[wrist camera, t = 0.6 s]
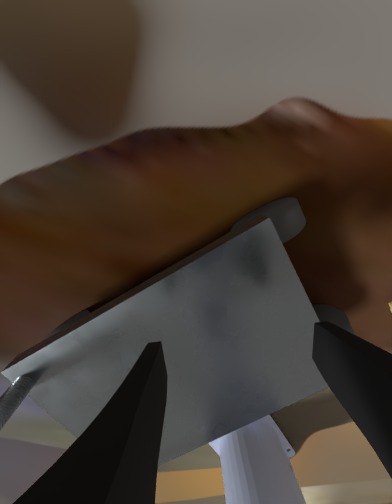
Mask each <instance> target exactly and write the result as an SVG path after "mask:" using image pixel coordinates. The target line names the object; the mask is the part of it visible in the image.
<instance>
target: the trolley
mask: <svg viewBox="0 0 392 504" xmlns="http://www.w3.org/2000/svg"><path fill="white" fill-rule="evenodd" d="M305 225H306V219H305V217H304V214H303V212H302V210H301V207H300V205H299V203H298V200H297V199H296V198H294V197H287V198H282V199H278V200H275V201H272V202H270V203H267V204H265V205H263V206H261V207H259V208H257V209H255V210H253V211H251V212H250V213H248V214H246V215H245V216H244V217H242V218H241V219H240V220H238V221H237V222H236V223H235V224H234V225H233V227H232V228H231V232H229V233H227V234H226V235H224V236H222V237H220V238H219V239H217V240H215V241H214V242H212V243H210V244H208V245H207V246H205V247H203V248H201V249H200V250H198V251H196V252H195V253H193V254H191V255H189V256H188V257H186V258H184V259H183V260H181V261H179V262H177V263H176V264H174V265H172V266H171V267H169V268H167V269H165V270H164V271H162V272H160V273H158V274H157V275H155V276H153V277H152V278H150V279H148V280H146V281H145V282H143V283H141V284H140V285H138V286H136V287H134V288H133V289H131V290H129V291H128V292H126V293H124V294H122V295H121V296H119V297H117V298H115V299H114V300H112V301H110V302H109V303H107V304H105V305H103V306H102V307H100V308H98V309H97V310H95V311H93V312H91V313H90V312H89V311H88V310H84V311H81V312H79V313H77V314H76V315H74V316H72V317H71V318H69V319H68V320H66V321H65V322H64V323H62V324H61V325H60V326H58V327H57V328H56V329H55V330H53V331H52V332H51V333H50V334H49V335H48V336H46V337H45V338H44V339H43V340H42V341H41V342H40V343H38V344H36V345H35V346H33V347H31V348H30V349H28V350H26V351H24V352H23V353H21V354H19V355H18V356H17V357H16V358H15V359H14V360H13V361H12V362H11V363H10V364H9V365H8V366H7V367H6V368H5V369H4V370H3V371H2V372H1V373H2V374H3V375H4V376H5V377H7V378H8V379H9V380H10V381H11V382H12V384H11V386H10V387H9V388H8V389H7V390H6V391H5V392H4V394H3V395H2V396H1V397H0V430H1V429H2V428H3V426H4V425H5V424H6V422H7V421H8V420H9V418H10V417H11V416H12V414H13V413H14V412H15V410H16V409H17V408H18V406H19V405H20V404H21V402H22V401H23V400H24V398H25V397H26V396H29V397H30V398H31V399H32V400H33V401H34V402H36V403H37V404H38V405H39V406H40V407H41V408H43V409H44V410H45V411H46V412H47V413H48V414H50V415H51V416H52V417H53V418H54V419H55V420H57V421H58V422H59V423H60V424H61V425H62V426H63V427H65V428H66V429H67V430H68V431H69V432H70V433H72V434H73V435H74V436H75V437H76V438H78V437H79V436H80V435H81V434H82V433H83V432H84V431H85V430H86V428H87V427H88V426H89V425H90V424H91V422H92V421H93V420H94V419H95V418H96V416H97V415H98V414H99V413H100V412H101V410H102V409H103V408H104V406H105V405H106V404H107V403H108V401H109V400H110V398H111V397H112V396H113V394H114V393H115V392H116V390H117V389H118V388H119V386H120V385H121V383H122V382H123V381H124V379H125V378H126V376H127V375H128V373H129V372H130V370H131V369H132V367H133V366H134V364H135V362H136V361H137V359H138V358H139V356H140V354H141V353H142V351H143V350H144V348H145V346H146V345H147V344H148V343H150V342H158V341H161V343H162V348H163V353H164V359H165V364H166V370H167V375H168V379H167V402H166V409H165V417H164V424H163V431H162V438H161V445H160V452H159V460H158V466H160V465H162V464H164V463H166V462H168V461H170V460H172V459H175V458H177V457H179V456H181V455H183V454H185V453H188V452H190V451H192V450H194V449H196V448H198V447H201V446H203V445H205V444H207V443H209V442H211V441H213V440H216V439H218V438H220V437H222V436H224V435H226V434H229V433H231V432H233V431H235V430H237V429H239V428H242V427H244V426H246V425H248V424H250V423H252V422H254V421H257V420H259V419H261V418H263V417H265V416H267V415H270V414H272V413H274V412H276V411H278V410H280V409H283V408H285V407H287V406H289V405H291V404H293V403H295V402H298V401H300V400H302V399H304V398H306V397H308V396H311V395H313V394H315V393H317V392H319V391H321V390H324V389H326V388H328V387H329V386H328V385H327V383H326V382H325V380H324V379H323V377H322V375H321V373H320V372H319V370H318V368H317V366H316V364H315V363H314V361H313V359H312V350H313V336H314V323H315V322H324V321H328V322H330V323H333V324H335V325H337V326H339V327H341V328H342V329H344V330H346V331H348V332H350V333H352V334H354V331H353V329H352V327H351V324H350V322H349V320H348V318H347V316H346V314H345V313H344V312H343V311H341V310H340V309H338V308H336V307H334V306H331V305H326V304H313V305H312V304H311V302H310V300H309V298H308V296H307V294H306V292H305V290H304V288H303V286H302V284H301V282H300V279H299V277H298V275H297V273H296V271H295V269H294V267H293V265H292V263H291V261H290V259H289V257H288V254H287V252H286V250H285V248H284V246H283V243H285V242H287V241H289V240H290V239H292V238H293V237H295V236H296V235H297V234H298V233H299V232H301V230H302V229H303V228H304V227H305ZM354 335H355V334H354Z"/></svg>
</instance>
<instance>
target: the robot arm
mask: <svg viewBox="0 0 392 504" xmlns="http://www.w3.org/2000/svg"><path fill="white" fill-rule="evenodd" d="M312 359H313V361H314V363H315V364H316V366H317V368H318V370H319V372H320V373H321V375H322V377H323V379H324V380H325V382H326V383H327V385H328V386H329V387H330V389H331V390H332V392H333V393H334V394H335V396H336V397H337V399H338V400H339V401H340V403H341V404H342V406H343V407H344V408H345V410H346V411H347V412H348V414H349V415H350V417H351V418H352V419H353V421H354V422H355V423H356V425H357V426H358V428H359V429H360V430H361V432H362V433H363V434H364V436H365V437H366V438H367V440H368V442H369V443H370V445H371V446H372V448H373V449H374V451H375V452H376V454H377V455H378V457H379V459H380V460H381V462H382V464H383V465H384V467H385V468H386V470H387V472H388V473H389V475H390V477H391V478H392V354H391V353H389V352H387V351H385V350H383V349H381V348H379V347H377V346H375V345H373V344H371V343H369V342H367V341H365V340H363V339H361V338H360V337H358V336H356V335H354V334H352V333H350V332H348V331H346V330H344V329H342V328H341V327H339V326H337V325H335V324H333V323H330V322H328V321H324V322H315V323H314V336H313V350H312ZM167 379H168V375H167V370H166V364H165V359H164V353H163V348H162V343H161V341H158V342H150V343H148V344H147V345H146V346H145V348H144V350H143V351H142V353H141V354H140V356H139V358H138V359H137V361H136V362H135V364H134V366H133V367H132V369H131V370H130V372H129V373H128V375H127V376H126V378H125V379H124V381H123V382H122V383H121V385H120V386H119V388H118V389H117V390H116V392H115V393H114V394H113V396H112V397H111V398H110V400H109V401H108V403H107V404H106V405H105V406H104V408H103V409H102V410H101V412H100V413H99V414H98V415H97V416H96V418H95V419H94V420H93V421H92V422H91V424H90V425H89V426H88V427H87V428H86V430H85V431H84V432H83V433H82V434H81V435H80V436H79V437H78V438H77V440H76V441H75V442H74V443H73V444H72V445H71V446H70V447H69V448H68V449H67V451H66V452H65V453H64V454H63V455H62V456H61V457H60V458H59V459H58V460H57V461H56V462H55V463H54V464H53V466H51V467H50V468H49V469H48V470H47V471H46V472H45V473H44V474H43V475H42V476H41V477H40V478H39V479H38V480H37V481H36V482H35V483H34V484H33V485H32V486H31V487H30V488H29V489H28V490H27V491H26V492H25V493H24V494H23V495H21V496H20V497H19V498H18V499H17V500H16V501H15V502H14V503H13V504H155V491H156V477H157V468H158V460H159V452H160V445H161V438H162V431H163V424H164V417H165V409H166V402H167ZM209 444H210V445H211V447H212V448H213V449H214V450H215V451H216V452H217V453H218V455H219V456H220V459H221V467H222V474H223V482H224V490H225V498H226V504H306V502H305V499H304V497H303V494H302V491H301V489H300V486H299V484H298V481H297V478H296V476H295V473H294V471H293V468H292V466H291V463H290V460H289V458H291V457H293V456H294V455H295V451H294V449H293V448H292V446H291V445H290V443H289V442H288V440H287V439H286V437H285V436H284V435H283V433H282V432H281V430H280V429H279V427H278V426H277V424H276V423H275V421H274V420H273V418H272V417H271V416H270V415H267V416H265V417H263V418H261V419H259V420H257V421H254V422H252V423H250V424H248V425H246V426H244V427H242V428H239V429H237V430H235V431H233V432H231V433H229V434H226V435H224V436H222V437H220V438H218V439H216V440H213V441H211V442H209Z"/></svg>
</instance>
